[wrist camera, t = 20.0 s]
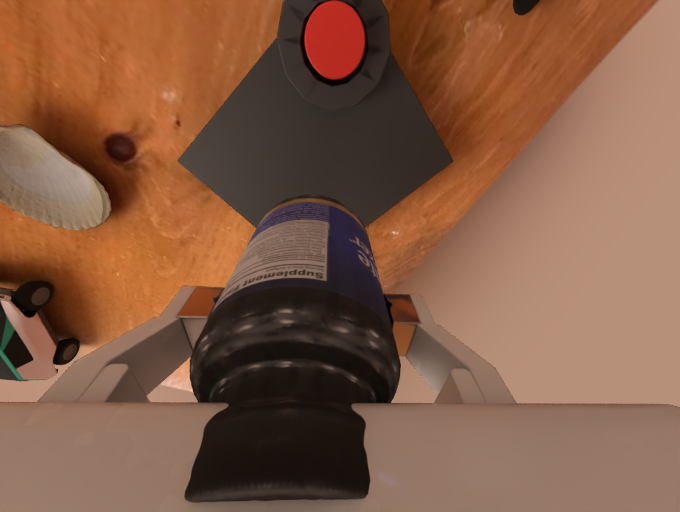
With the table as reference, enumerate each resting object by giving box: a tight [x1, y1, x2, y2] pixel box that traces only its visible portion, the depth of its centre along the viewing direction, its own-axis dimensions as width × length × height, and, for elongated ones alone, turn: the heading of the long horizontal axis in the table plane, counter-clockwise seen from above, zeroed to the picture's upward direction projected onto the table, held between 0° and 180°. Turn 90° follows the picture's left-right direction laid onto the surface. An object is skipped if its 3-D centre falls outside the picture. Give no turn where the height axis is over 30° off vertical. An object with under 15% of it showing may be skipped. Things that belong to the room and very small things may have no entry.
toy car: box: [0, 281, 80, 381], centre depth 26 cm, size 6×12×5 cm, turn 166°
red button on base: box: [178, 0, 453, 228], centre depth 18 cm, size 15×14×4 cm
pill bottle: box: [184, 194, 401, 503], centre depth 10 cm, size 6×6×11 cm
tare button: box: [305, 0, 365, 80], centre depth 13 cm, size 3×3×2 cm
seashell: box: [0, 124, 112, 230], centre depth 19 cm, size 8×3×8 cm
